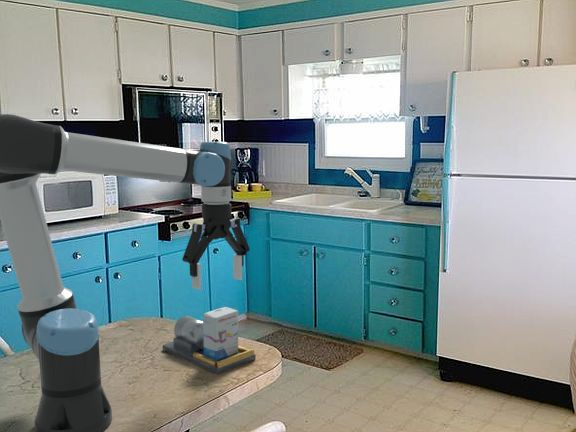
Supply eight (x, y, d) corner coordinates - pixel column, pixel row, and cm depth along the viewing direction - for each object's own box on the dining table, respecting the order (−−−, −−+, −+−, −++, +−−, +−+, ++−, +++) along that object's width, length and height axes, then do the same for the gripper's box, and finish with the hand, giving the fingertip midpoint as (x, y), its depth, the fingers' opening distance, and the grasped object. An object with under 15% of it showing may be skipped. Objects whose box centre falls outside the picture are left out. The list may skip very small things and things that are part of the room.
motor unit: (217, 374, 148) (216, 341, 147) (162, 350, 165) (161, 320, 164) (255, 359, 158) (254, 328, 156) (200, 337, 174) (199, 309, 173)
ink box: (216, 361, 153) (215, 317, 151) (203, 357, 156) (201, 313, 154) (239, 351, 159) (238, 309, 157) (226, 347, 162) (225, 305, 160)
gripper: (185, 208, 140) (187, 295, 143) (262, 199, 157) (262, 277, 160) (166, 205, 145) (169, 290, 148) (243, 197, 163) (244, 273, 166)
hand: (217, 283), depth 154 cm, fingers open, 13 cm apart
